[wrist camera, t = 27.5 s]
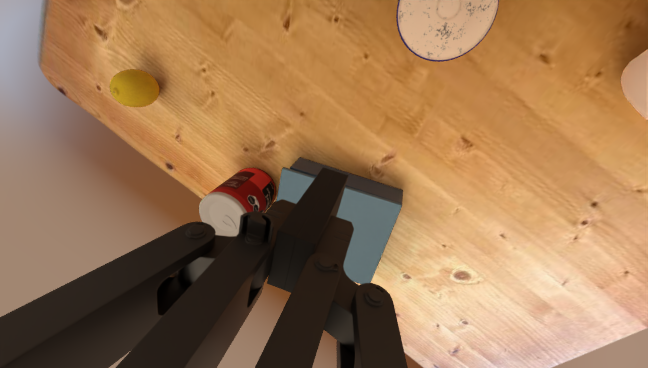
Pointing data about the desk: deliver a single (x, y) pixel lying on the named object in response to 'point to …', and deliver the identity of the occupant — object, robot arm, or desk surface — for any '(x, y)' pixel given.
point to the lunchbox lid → (366, 216)
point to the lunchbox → (351, 180)
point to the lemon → (134, 88)
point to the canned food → (237, 200)
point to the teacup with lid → (444, 26)
